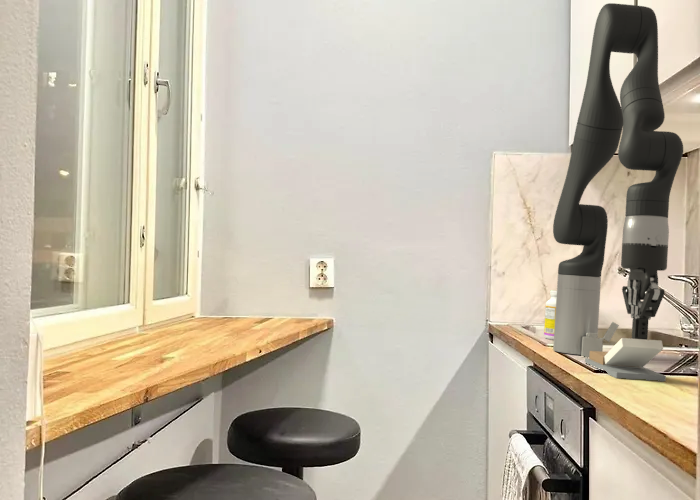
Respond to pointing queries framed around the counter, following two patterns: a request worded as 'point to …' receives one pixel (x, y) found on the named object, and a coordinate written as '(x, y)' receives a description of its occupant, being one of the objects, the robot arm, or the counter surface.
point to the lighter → (596, 340)
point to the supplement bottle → (550, 316)
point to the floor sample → (622, 368)
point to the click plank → (633, 352)
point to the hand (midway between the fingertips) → (639, 340)
